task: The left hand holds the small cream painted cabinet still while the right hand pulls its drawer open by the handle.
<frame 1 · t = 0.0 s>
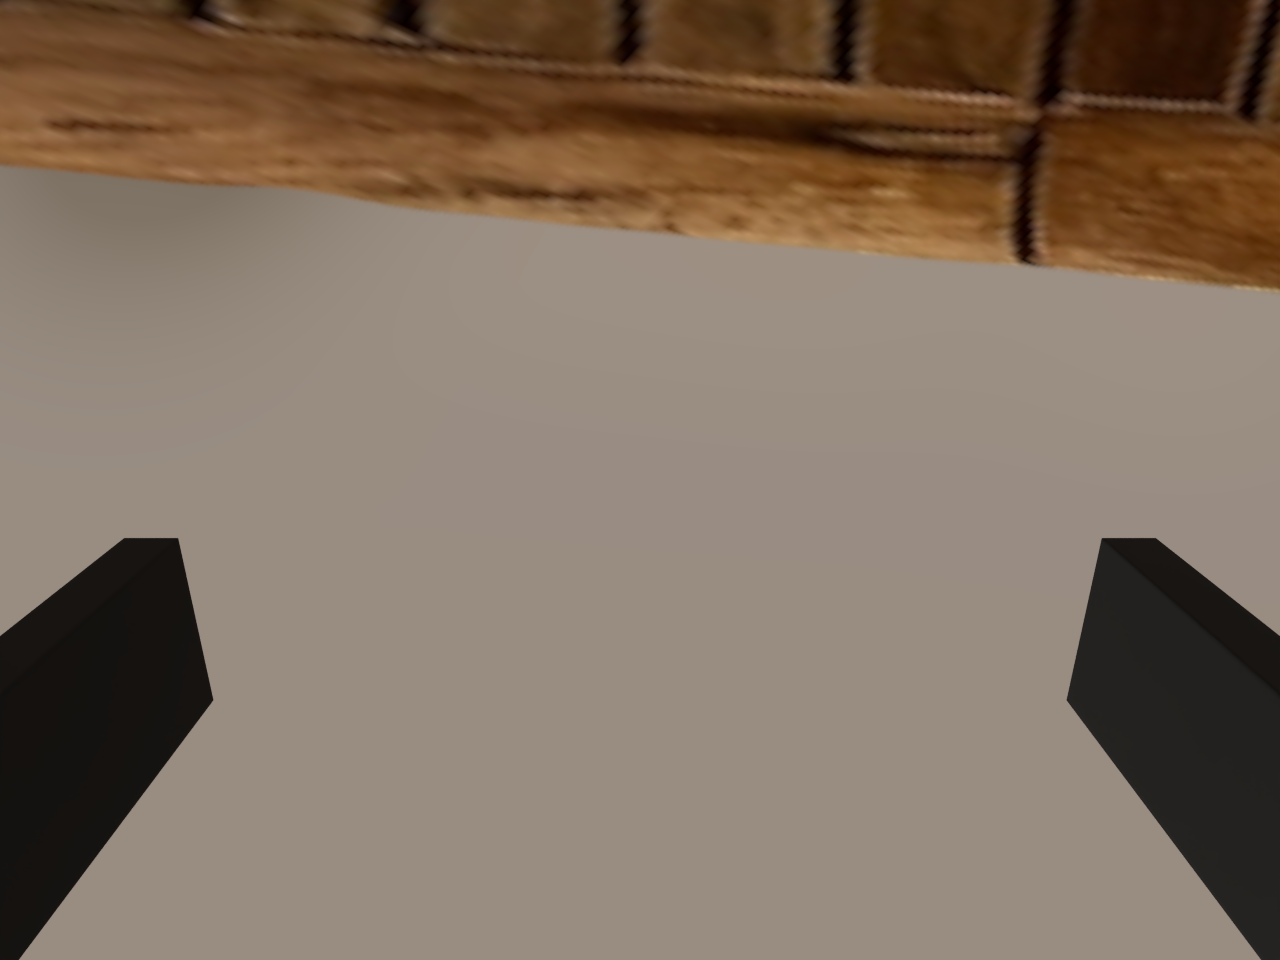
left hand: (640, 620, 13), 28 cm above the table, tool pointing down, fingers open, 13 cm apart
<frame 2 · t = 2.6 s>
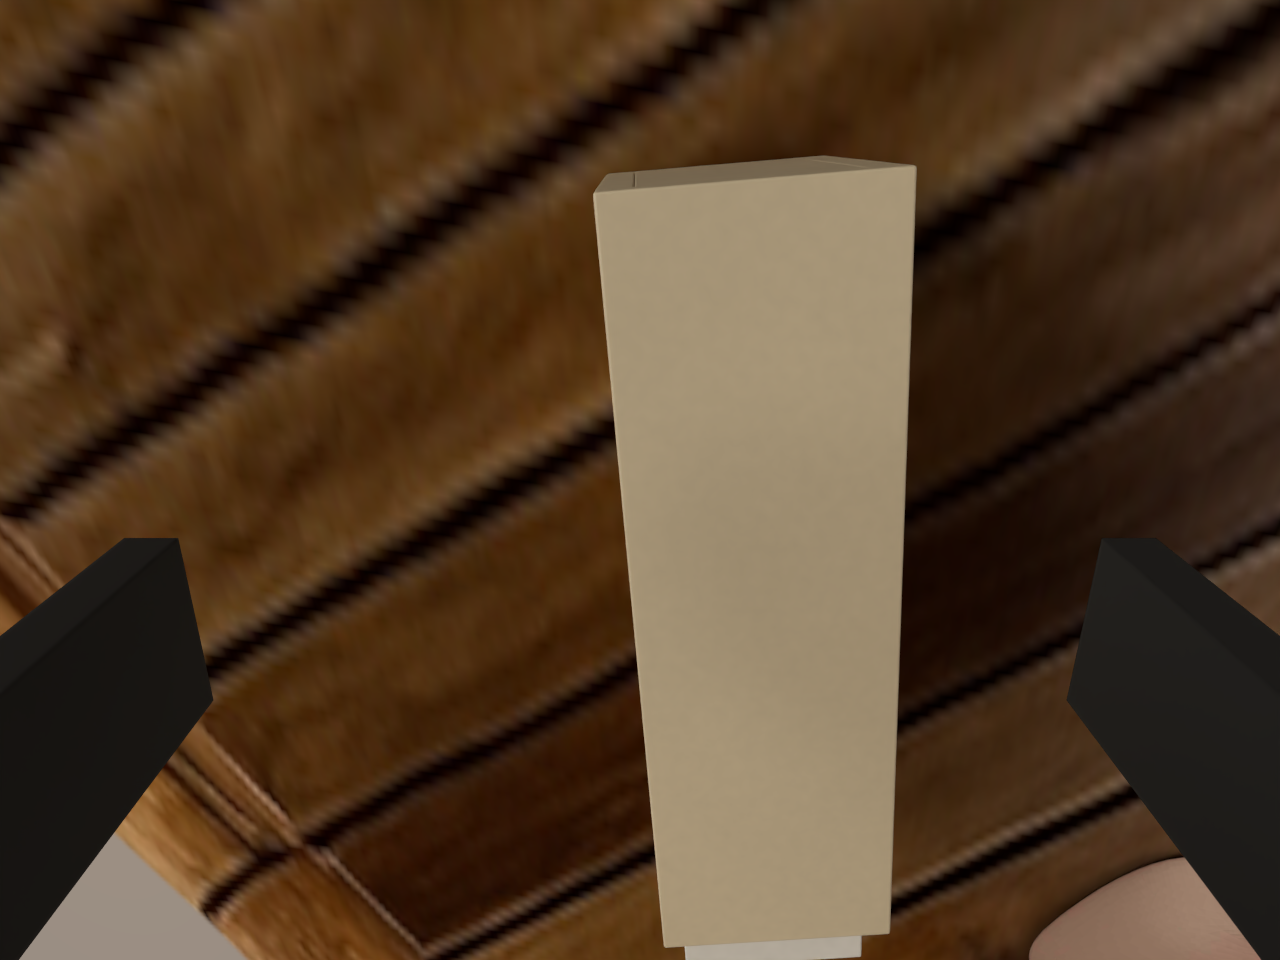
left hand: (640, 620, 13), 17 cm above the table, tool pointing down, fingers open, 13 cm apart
drawer: (751, 697, 28), point 5 cm above the table, slide at 0.8 cm
anatomical model: (1184, 948, 39), on the table
cabinet: (730, 489, 31), on the table
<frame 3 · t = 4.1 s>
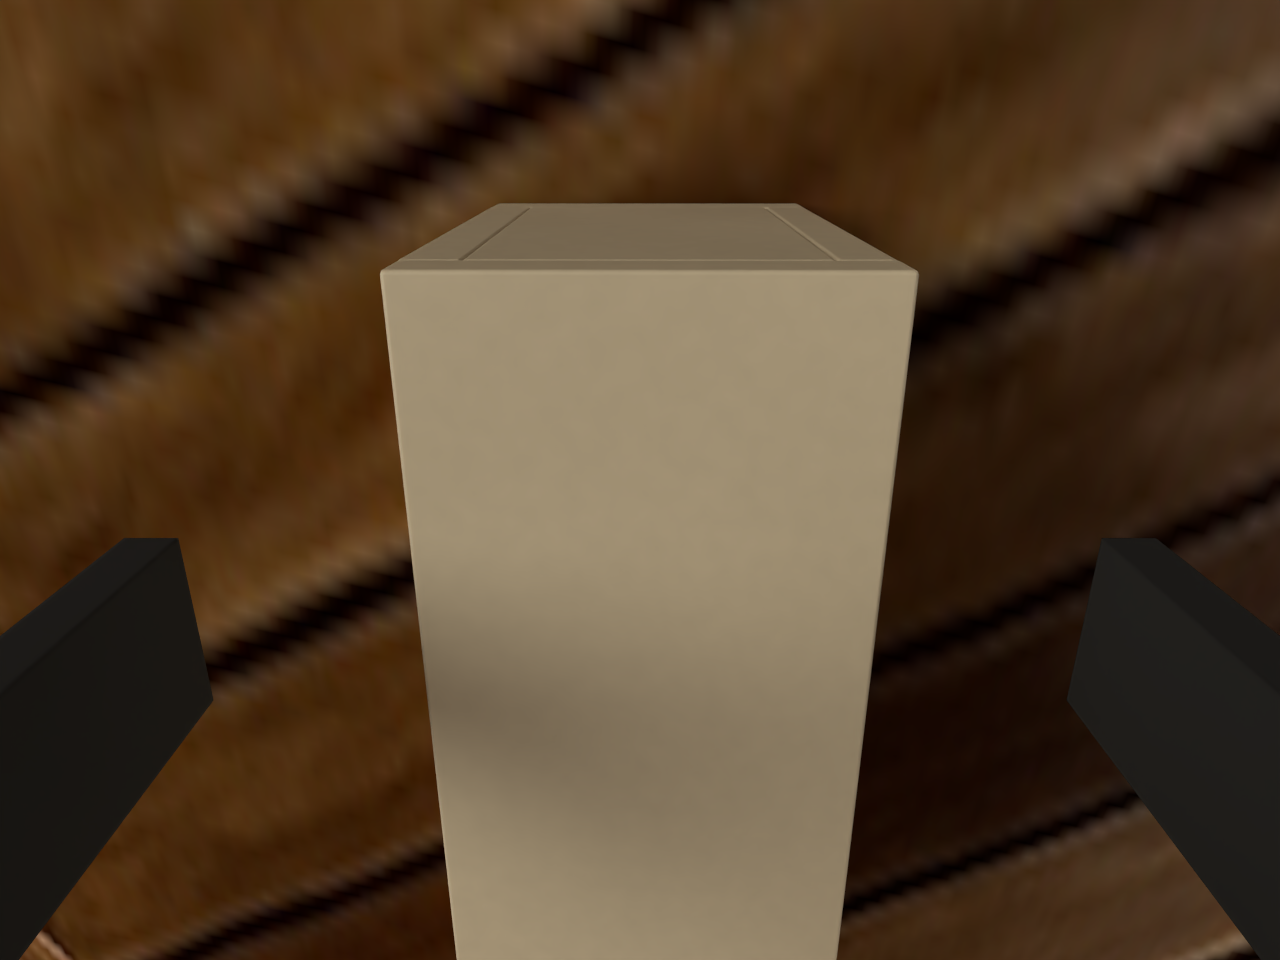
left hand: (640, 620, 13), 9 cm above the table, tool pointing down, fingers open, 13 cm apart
cabinet: (646, 620, 24), on the table
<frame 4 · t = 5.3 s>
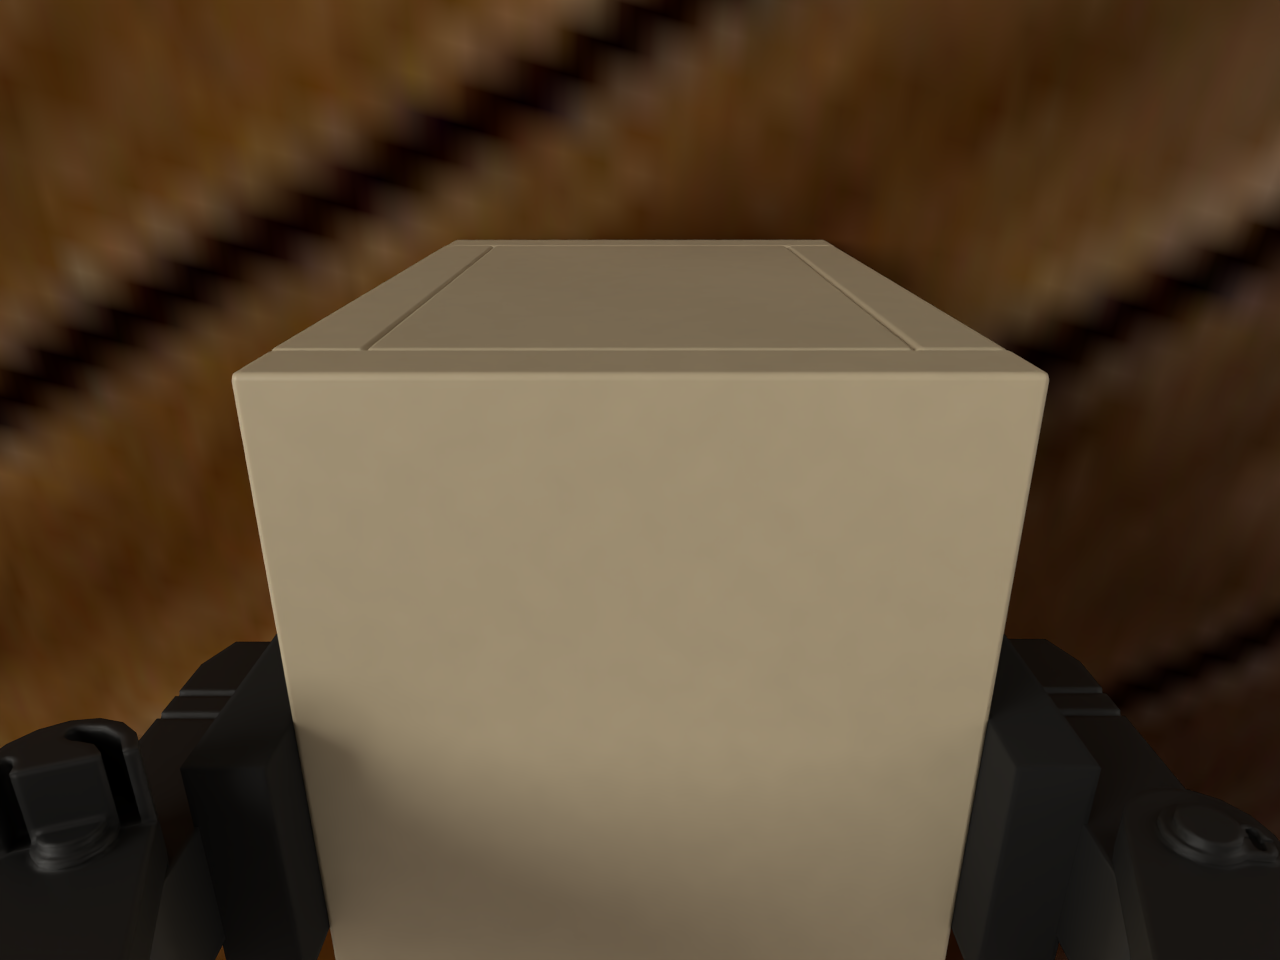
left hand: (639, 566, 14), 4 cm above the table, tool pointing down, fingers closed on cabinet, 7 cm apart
cabinet: (640, 729, 20), on the table, touching left hand
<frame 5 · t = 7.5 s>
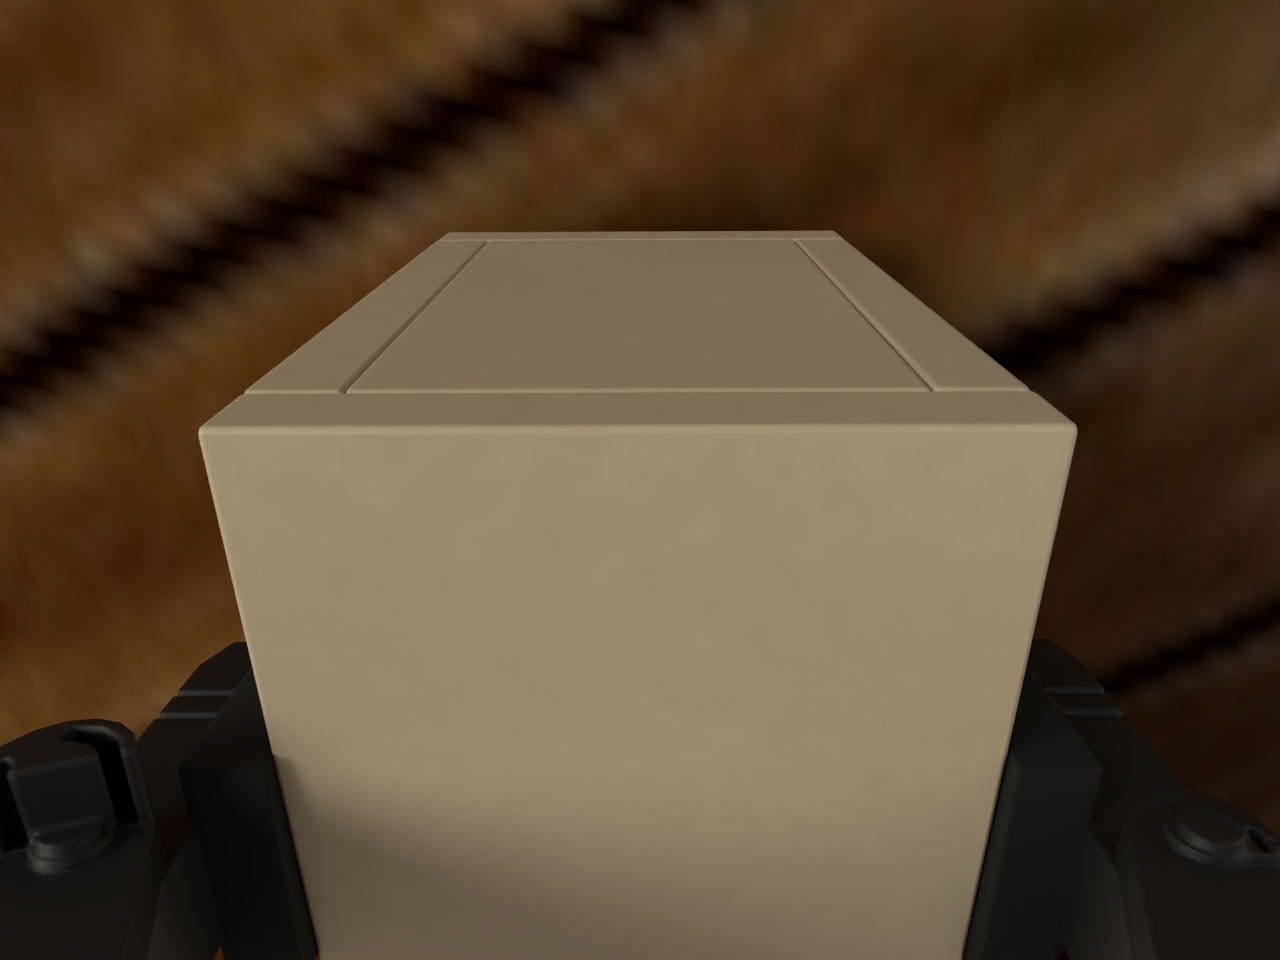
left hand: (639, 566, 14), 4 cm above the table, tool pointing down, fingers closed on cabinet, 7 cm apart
cabinet: (643, 724, 20), on the table, touching left hand
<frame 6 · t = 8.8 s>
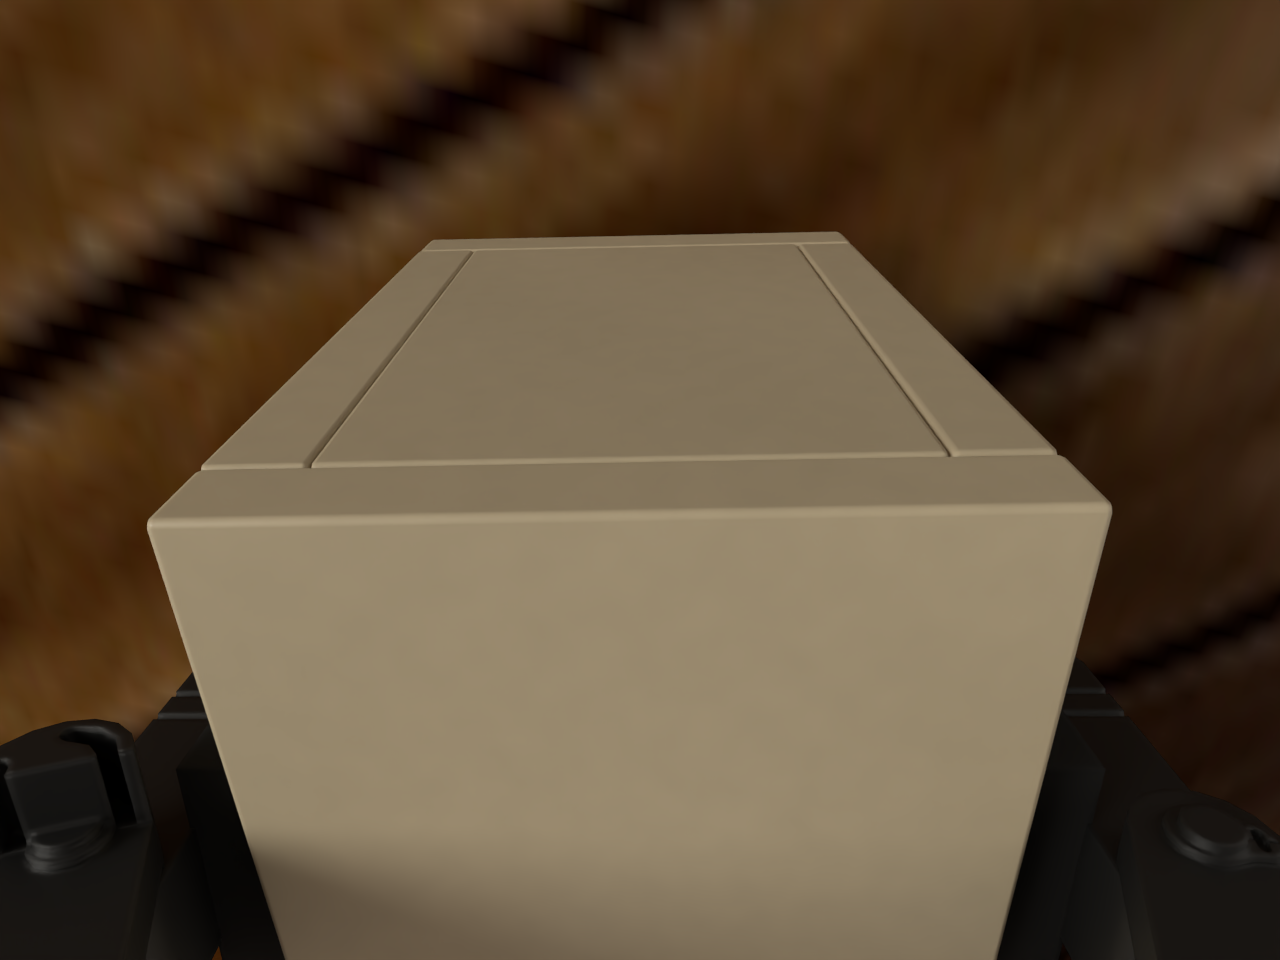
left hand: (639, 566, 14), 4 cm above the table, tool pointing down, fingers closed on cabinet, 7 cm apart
cabinet: (646, 733, 19), point 1 cm above the table, touching left hand
when the left hand's fingers open (4 cm above the table, at t = 10.1 s): cabinet stays where it is, on the table.
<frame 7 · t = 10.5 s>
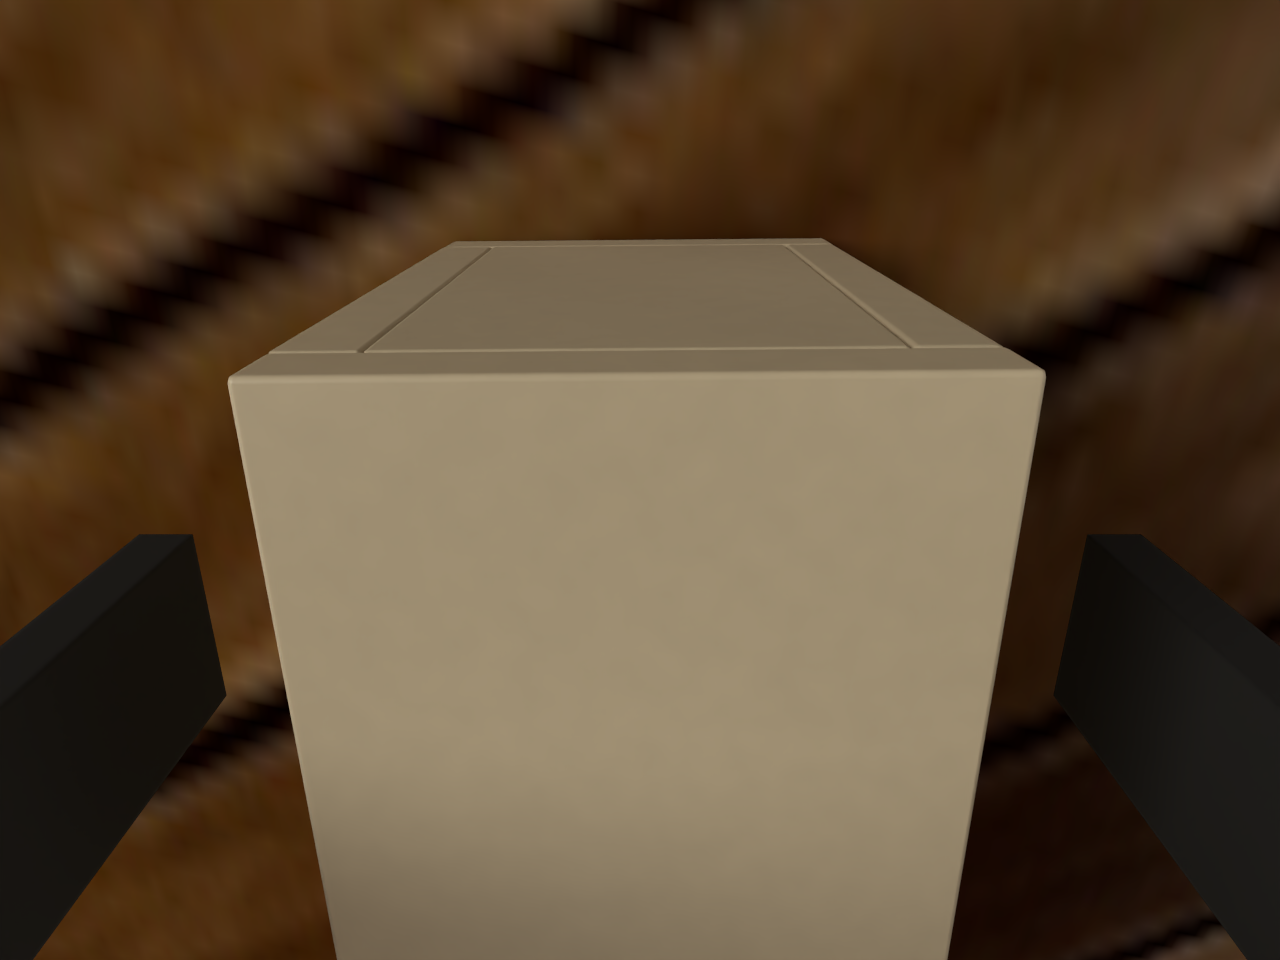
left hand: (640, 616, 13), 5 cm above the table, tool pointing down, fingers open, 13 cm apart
cabinet: (642, 729, 20), on the table
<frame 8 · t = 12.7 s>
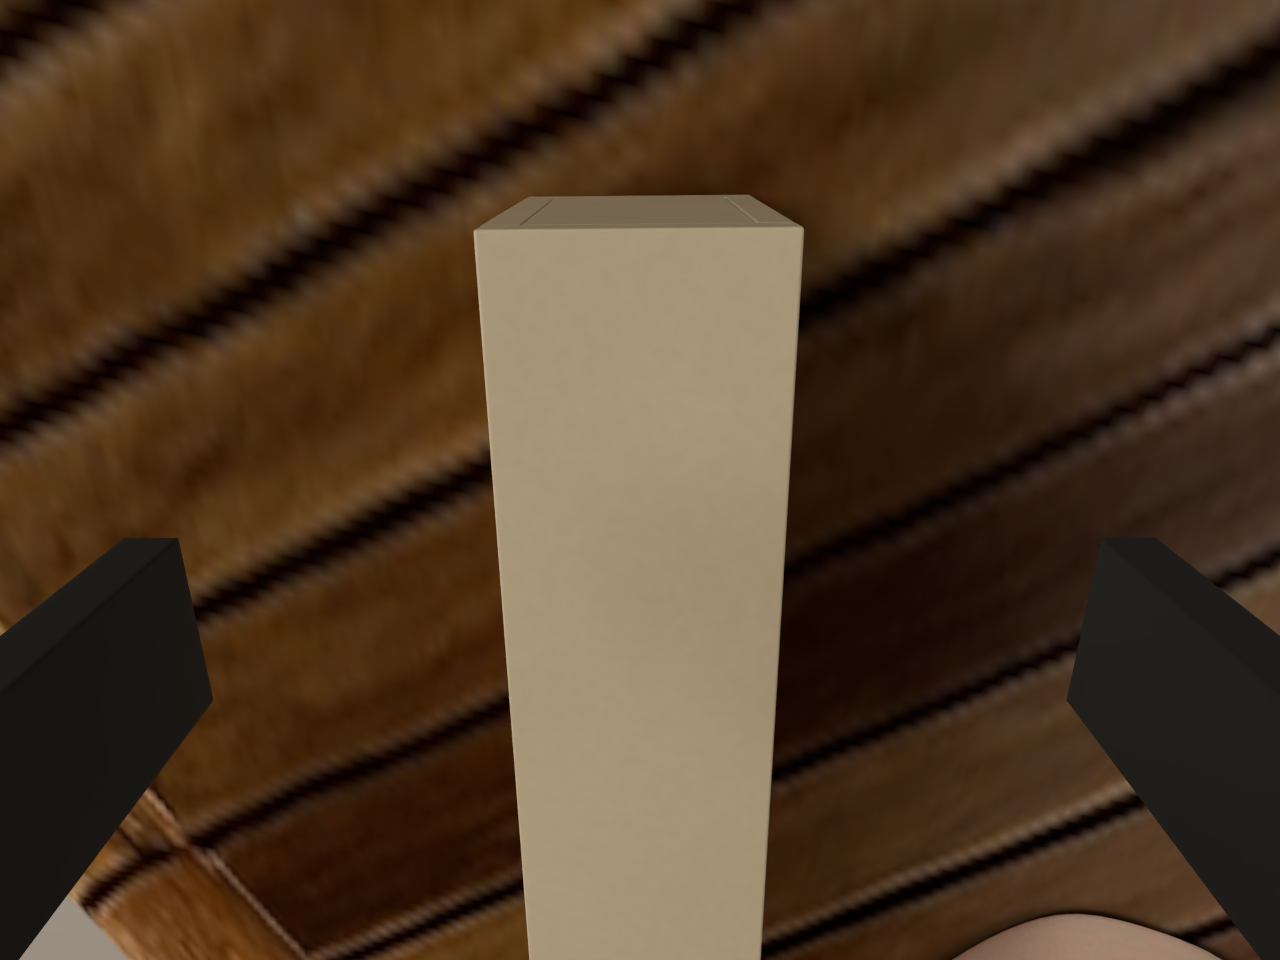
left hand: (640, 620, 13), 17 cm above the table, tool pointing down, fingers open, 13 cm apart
cabinet: (641, 520, 30), on the table
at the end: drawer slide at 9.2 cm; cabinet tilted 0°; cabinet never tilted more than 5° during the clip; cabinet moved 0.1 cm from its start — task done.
